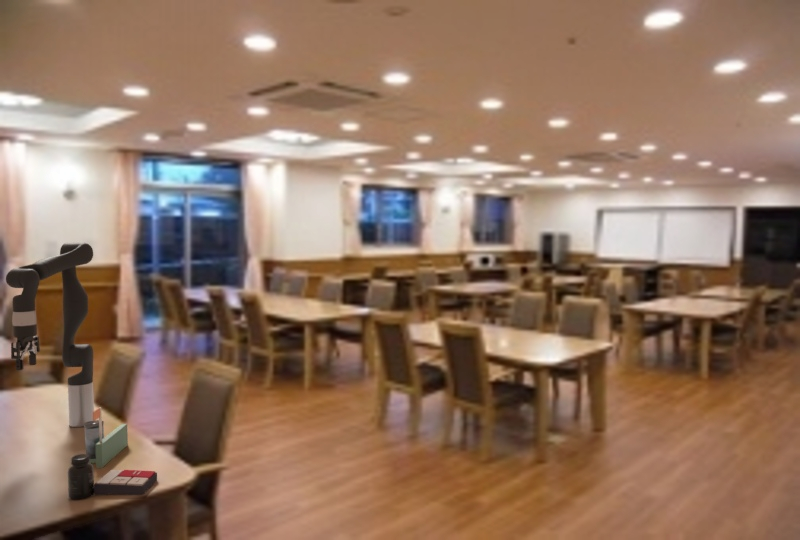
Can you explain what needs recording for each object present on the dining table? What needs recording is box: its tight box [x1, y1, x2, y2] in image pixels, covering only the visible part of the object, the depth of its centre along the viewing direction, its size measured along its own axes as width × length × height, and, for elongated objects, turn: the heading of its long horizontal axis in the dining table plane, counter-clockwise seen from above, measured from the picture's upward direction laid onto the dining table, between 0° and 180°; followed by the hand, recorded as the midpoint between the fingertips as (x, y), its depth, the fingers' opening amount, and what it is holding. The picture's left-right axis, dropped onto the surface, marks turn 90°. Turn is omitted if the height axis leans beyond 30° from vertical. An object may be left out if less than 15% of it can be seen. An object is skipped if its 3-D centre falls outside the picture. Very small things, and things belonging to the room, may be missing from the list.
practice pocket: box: [89, 407, 129, 469], centre depth 214 cm, size 25×12×20 cm, turn 3°
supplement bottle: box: [67, 453, 95, 501], centre depth 183 cm, size 7×7×12 cm
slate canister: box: [83, 419, 105, 459], centre depth 216 cm, size 6×6×12 cm
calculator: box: [93, 469, 158, 496], centre depth 190 cm, size 11×4×15 cm
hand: (26, 367), depth 223 cm, fingers open, 8 cm apart
